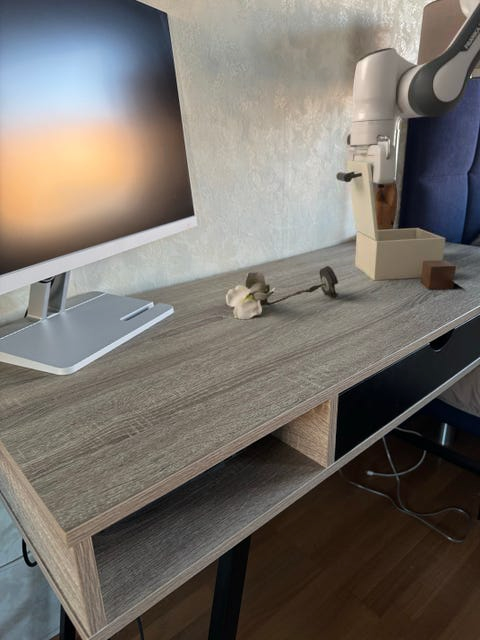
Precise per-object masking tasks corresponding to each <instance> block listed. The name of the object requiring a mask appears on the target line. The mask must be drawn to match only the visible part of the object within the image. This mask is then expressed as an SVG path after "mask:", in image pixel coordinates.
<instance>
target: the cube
mask: <svg viewBox="0 0 480 640" xmlns="http://www.w3.org/2000/svg"><path fill="white" fill-rule="evenodd" d="M456 268H457V265H455V264H454V263H452V262H450V261H449V260H448V259H447V260H446V259H443V260H436V261H423V267H422V276H421V278H420V284H421V285H422V286H424V287H425V288H426V289H427V290H429V291H431V290H439V291H440V290H453V289H454V285H455V277H456Z"/></svg>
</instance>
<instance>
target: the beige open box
mask: <svg viewBox="0 0 480 640" xmlns="http://www.w3.org/2000/svg"><path fill="white" fill-rule="evenodd" d="M378 238H379V239H378V240H374V239H372V238H370V237H368V236H367V235H365V234H363V233H361V232H359V231H357V230H356V239H355V240H356V242H355V258H354V259H355V260H354V266H355V267H356V268H357V269H358V270H360V271H361V272H362V273H364V274H365V275H367V276H368V277H369V278H370V279H371V280H373V281H386V280H403V279H405V280H406V279H418V278H419V279H421V276H422V267H423V261H436V260H444V253H445V245H446V237H443V236H440V235H438V234H436V233H432V232H430V231H427V230H424V229H421V228H420V227H412V228H411V227H410V228H393V229H390V230H378Z"/></svg>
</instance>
